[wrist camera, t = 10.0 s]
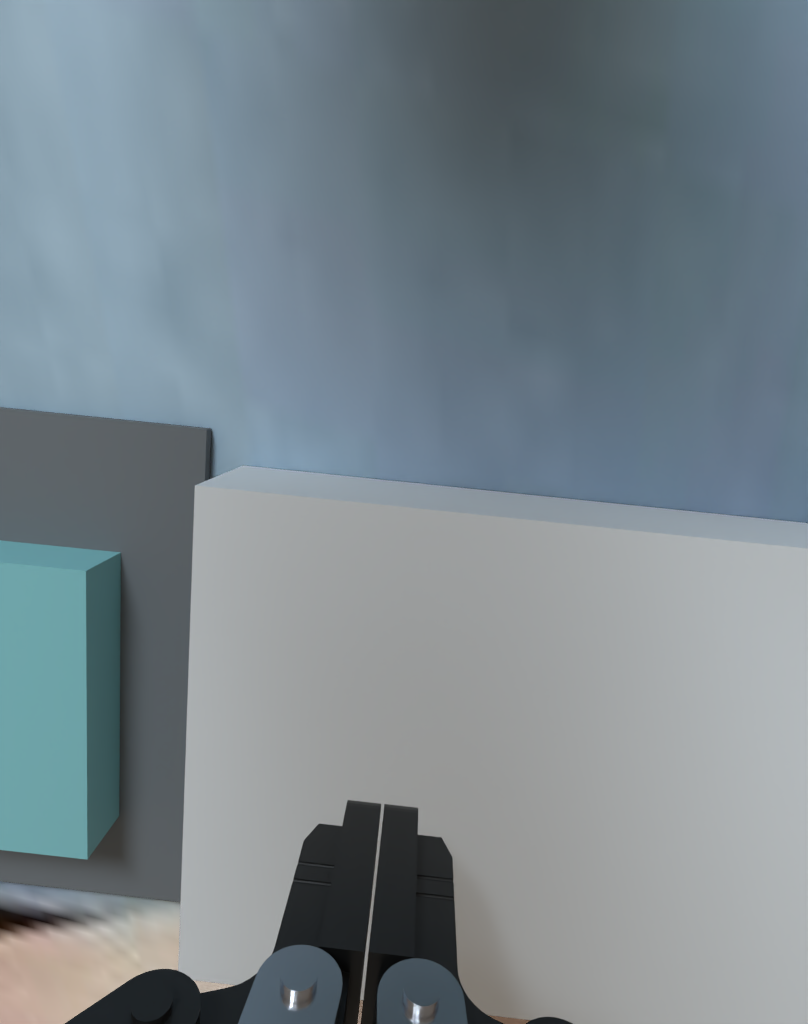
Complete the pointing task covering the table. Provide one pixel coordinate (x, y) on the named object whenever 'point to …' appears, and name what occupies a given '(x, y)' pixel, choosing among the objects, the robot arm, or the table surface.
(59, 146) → the table surface
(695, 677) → the plate
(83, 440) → the mat
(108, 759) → the teal rectangular box
